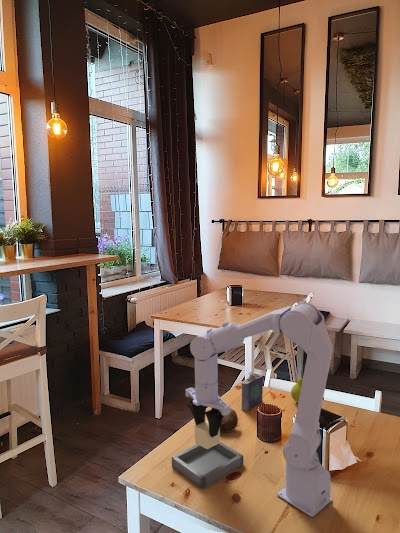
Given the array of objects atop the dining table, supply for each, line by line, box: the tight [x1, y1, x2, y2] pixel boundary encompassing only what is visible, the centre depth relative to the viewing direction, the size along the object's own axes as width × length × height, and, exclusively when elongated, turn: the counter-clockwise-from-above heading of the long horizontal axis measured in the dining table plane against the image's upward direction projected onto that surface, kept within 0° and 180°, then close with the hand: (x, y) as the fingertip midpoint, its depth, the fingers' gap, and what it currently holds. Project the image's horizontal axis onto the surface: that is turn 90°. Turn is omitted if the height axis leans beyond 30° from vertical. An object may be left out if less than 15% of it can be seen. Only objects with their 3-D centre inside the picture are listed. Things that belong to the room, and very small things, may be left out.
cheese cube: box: [193, 419, 221, 449], centre depth 102 cm, size 4×4×4 cm
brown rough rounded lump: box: [220, 407, 239, 433], centre depth 121 cm, size 8×8×6 cm
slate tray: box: [171, 441, 244, 490], centre depth 103 cm, size 12×14×2 cm
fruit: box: [290, 370, 303, 404], centre depth 136 cm, size 7×7×12 cm
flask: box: [241, 371, 264, 412], centre depth 135 cm, size 10×3×12 cm, turn 134°
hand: (207, 431), depth 102 cm, fingers closed on cheese cube, 4 cm apart
